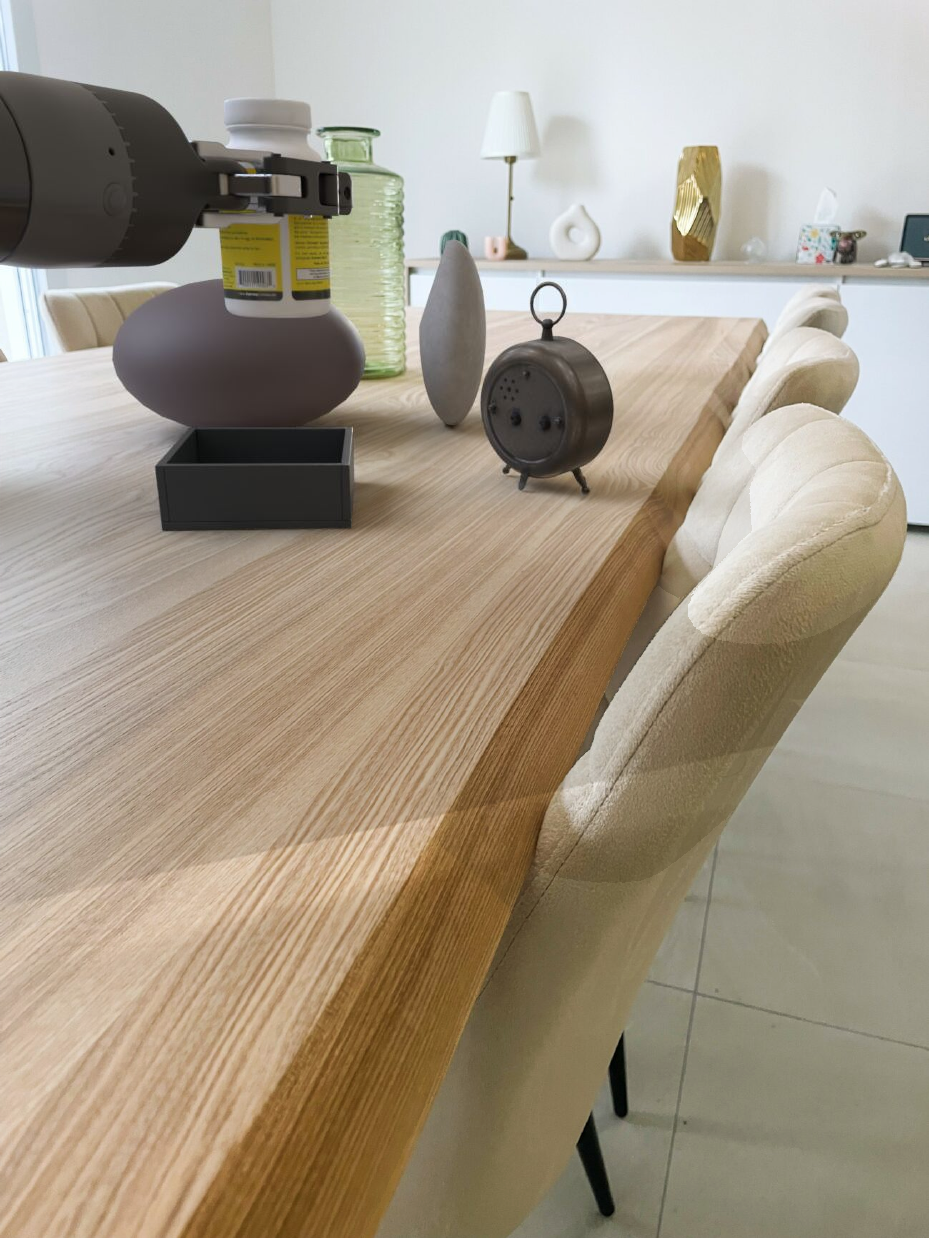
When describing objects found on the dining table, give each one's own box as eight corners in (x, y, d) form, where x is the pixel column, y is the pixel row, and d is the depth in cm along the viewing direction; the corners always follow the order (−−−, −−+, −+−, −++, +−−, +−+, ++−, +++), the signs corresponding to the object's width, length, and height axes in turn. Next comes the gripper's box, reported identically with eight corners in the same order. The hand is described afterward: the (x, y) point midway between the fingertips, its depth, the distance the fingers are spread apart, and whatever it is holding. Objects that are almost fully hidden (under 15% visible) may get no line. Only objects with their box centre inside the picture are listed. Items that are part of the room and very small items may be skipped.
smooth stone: (355, 459, 86) (351, 288, 80) (84, 454, 86) (59, 282, 80) (376, 410, 109) (374, 275, 103) (162, 406, 108) (148, 270, 102)
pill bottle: (318, 310, 59) (312, 112, 54) (342, 319, 53) (337, 100, 49) (217, 310, 56) (203, 104, 52) (232, 319, 51) (217, 91, 47)
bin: (161, 530, 65) (154, 465, 63) (194, 482, 77) (189, 427, 75) (351, 528, 66) (349, 465, 64) (354, 481, 78) (352, 427, 76)
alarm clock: (610, 493, 76) (627, 284, 70) (572, 506, 73) (586, 286, 66) (507, 470, 83) (514, 277, 77) (467, 480, 79) (471, 279, 73)
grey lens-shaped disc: (421, 407, 111) (421, 238, 103) (480, 408, 111) (484, 239, 104) (416, 440, 94) (416, 240, 86) (486, 441, 94) (492, 242, 86)
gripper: (179, 70, 36) (403, 118, 50) (-59, 86, 42) (199, 124, 56) (196, 275, 39) (403, 267, 53) (-29, 262, 45) (209, 258, 59)
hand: (297, 193), depth 54 cm, fingers closed on pill bottle, 6 cm apart
